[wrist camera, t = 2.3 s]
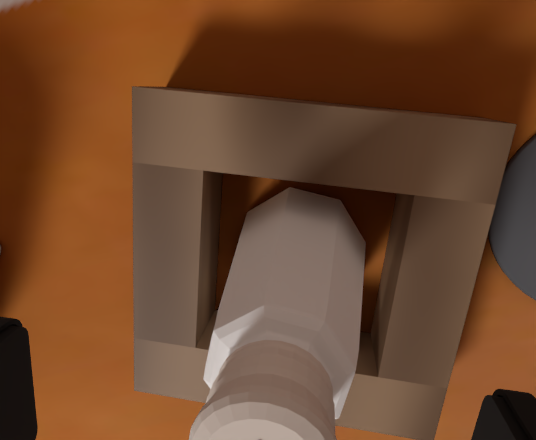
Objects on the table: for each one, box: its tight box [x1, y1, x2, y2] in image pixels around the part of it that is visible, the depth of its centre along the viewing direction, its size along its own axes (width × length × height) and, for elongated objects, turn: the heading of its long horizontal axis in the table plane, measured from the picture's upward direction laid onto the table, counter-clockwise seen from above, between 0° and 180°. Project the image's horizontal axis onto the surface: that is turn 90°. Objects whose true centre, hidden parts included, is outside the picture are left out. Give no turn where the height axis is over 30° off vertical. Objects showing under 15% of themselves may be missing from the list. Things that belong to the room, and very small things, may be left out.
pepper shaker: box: [189, 187, 366, 440], centre depth 13 cm, size 5×5×11 cm
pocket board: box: [132, 87, 516, 440], centre depth 17 cm, size 12×12×3 cm
